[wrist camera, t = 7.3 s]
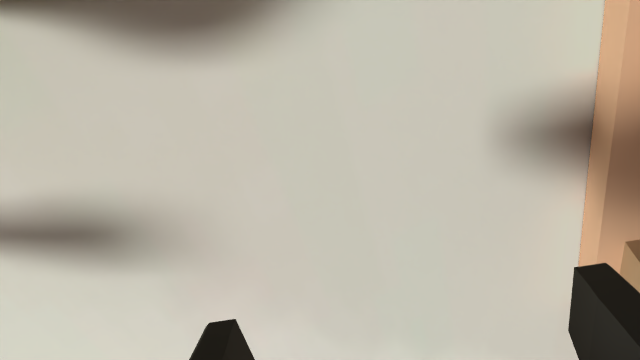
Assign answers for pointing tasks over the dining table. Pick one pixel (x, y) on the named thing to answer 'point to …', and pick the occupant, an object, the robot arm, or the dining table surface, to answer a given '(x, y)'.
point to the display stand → (615, 148)
